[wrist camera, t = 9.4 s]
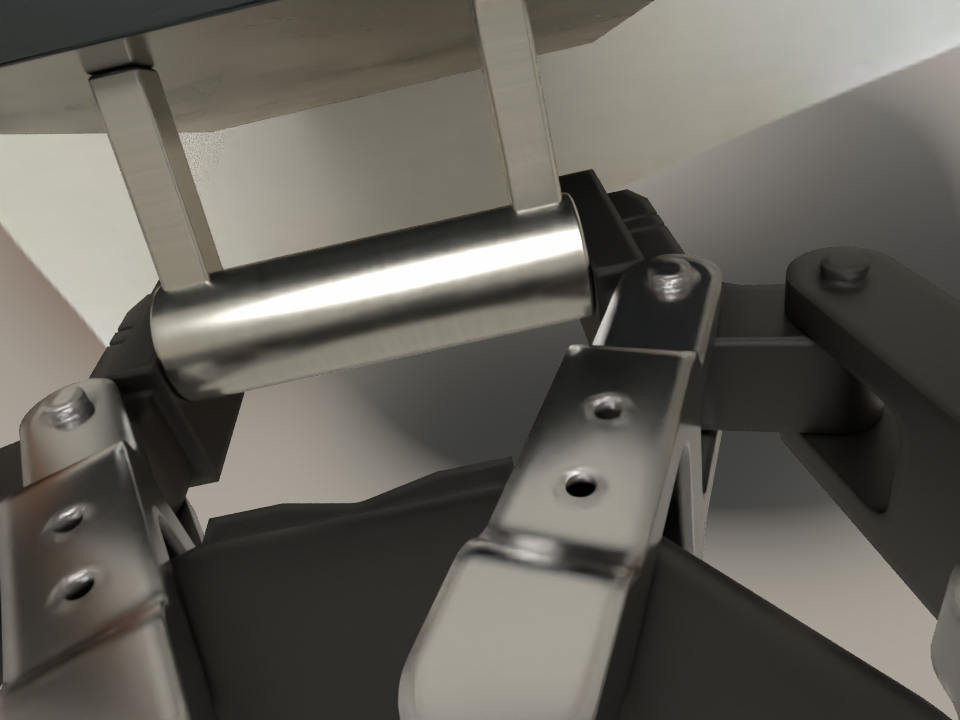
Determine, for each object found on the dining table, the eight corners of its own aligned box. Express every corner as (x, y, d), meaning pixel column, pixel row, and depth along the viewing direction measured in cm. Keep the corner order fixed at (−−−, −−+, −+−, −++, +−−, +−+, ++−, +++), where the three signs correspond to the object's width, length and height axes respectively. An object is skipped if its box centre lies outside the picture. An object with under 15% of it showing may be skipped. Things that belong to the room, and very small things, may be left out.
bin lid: (-336, 60, 8) (-103, 509, 9) (866, -239, 7) (892, 294, 9) (201, 107, 23) (253, 270, 25) (589, 15, 23) (617, 188, 24)
